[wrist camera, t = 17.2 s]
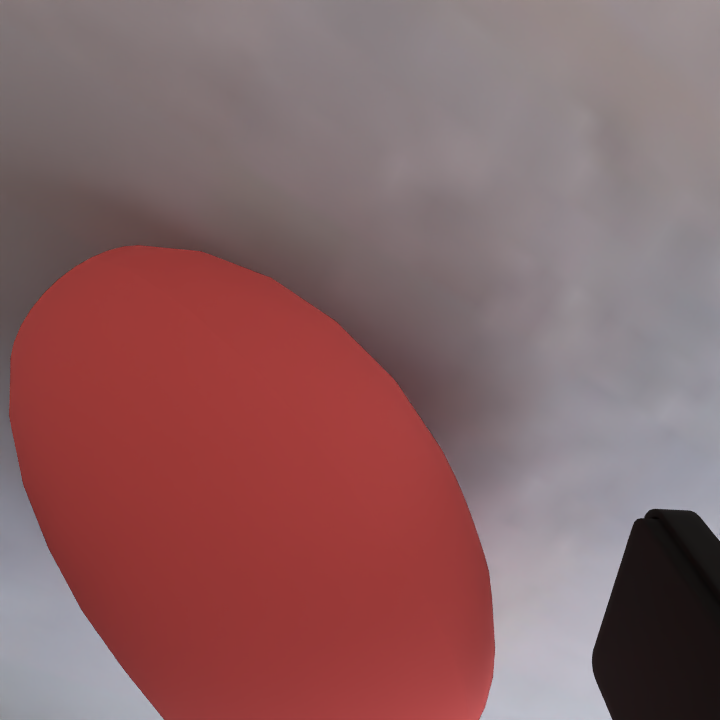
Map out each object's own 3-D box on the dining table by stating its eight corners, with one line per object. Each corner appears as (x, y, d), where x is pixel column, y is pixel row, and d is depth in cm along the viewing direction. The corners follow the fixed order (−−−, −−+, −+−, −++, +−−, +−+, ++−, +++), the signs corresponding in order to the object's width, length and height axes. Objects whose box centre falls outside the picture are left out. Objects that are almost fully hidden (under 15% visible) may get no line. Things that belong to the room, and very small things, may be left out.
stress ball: (469, 211, 11) (288, 139, 5) (560, 723, 11) (492, 1191, 6) (215, 274, 13) (-120, 274, 7) (302, 706, 13) (54, 1035, 8)
